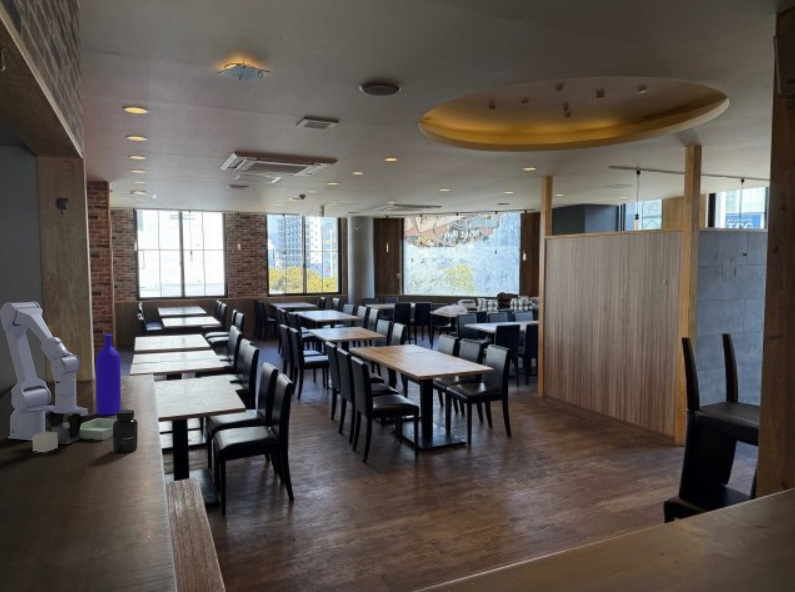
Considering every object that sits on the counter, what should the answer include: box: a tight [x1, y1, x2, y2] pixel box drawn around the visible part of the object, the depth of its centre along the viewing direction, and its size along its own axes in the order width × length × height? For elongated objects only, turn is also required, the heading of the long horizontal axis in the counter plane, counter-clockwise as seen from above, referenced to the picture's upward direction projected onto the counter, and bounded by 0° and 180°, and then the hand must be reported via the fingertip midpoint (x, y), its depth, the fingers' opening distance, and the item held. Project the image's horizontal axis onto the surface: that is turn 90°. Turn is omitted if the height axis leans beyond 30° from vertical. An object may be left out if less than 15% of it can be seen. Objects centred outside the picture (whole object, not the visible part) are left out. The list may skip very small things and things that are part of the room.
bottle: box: [95, 334, 122, 416], centre depth 209 cm, size 8×8×30 cm
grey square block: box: [51, 421, 81, 445], centre depth 175 cm, size 6×6×5 cm
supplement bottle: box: [112, 409, 139, 454], centre depth 168 cm, size 7×7×12 cm
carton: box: [32, 430, 59, 453], centre depth 167 cm, size 4×4×5 cm
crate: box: [80, 417, 117, 441], centre depth 184 cm, size 13×13×3 cm
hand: (66, 436), depth 175 cm, fingers closed on grey square block, 5 cm apart
